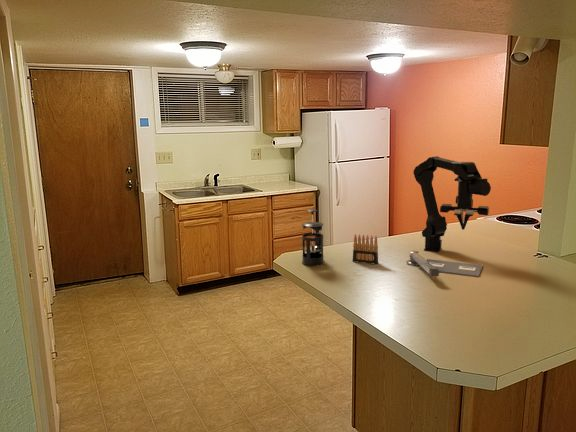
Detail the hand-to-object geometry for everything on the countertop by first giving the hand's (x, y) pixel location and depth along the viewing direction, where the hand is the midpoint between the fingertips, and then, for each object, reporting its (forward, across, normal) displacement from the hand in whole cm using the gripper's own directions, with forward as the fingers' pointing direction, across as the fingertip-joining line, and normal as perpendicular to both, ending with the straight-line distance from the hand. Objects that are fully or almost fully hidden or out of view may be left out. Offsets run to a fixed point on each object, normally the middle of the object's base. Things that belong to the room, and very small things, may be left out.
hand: (463, 229), depth 197 cm
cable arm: (+10, +11, +24) cm, 28 cm away
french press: (+13, +56, +29) cm, 64 cm away
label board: (+13, +2, +14) cm, 19 cm away
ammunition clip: (+13, +36, +20) cm, 43 cm away
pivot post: (+13, +17, +14) cm, 26 cm away
